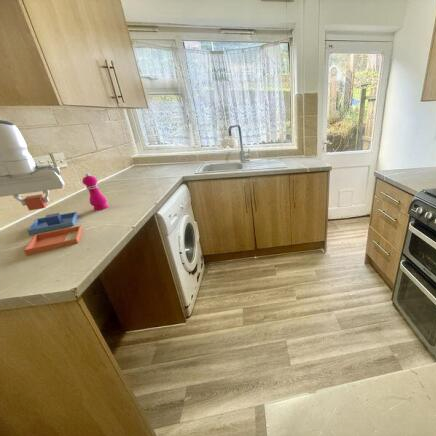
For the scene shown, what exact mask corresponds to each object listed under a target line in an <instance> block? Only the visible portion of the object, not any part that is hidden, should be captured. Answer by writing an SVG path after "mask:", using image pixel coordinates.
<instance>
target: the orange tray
mask: <svg viewBox="0 0 436 436" xmlns="http://www.w3.org/2000/svg"><path fill="white" fill-rule="evenodd" d="M74 232H76V234H75V237H74V238H72V239H67V237H68V235H69V234H70V233H74ZM82 232H83V227H82V225H76V226H70V227H66V228H61V229H57V230H52V231H48V232H43V233H39V234H34V235H33V237H32V238H31V240H30V241H29V242H28V243H27V245H26V246H25V248H24V249H23V252H24V254H25V256H26V257H28V256H32V255H36V254H39V253H44V252H48V251H52V250H56V249H60V248H65V247H67V246H68V247H69V246H71V245H75V244H78V243H79V241H80V239H81V236H82ZM66 239H67V240H66Z"/></svg>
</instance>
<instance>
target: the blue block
mask: <svg viewBox="0 0 436 436" xmlns="http://www.w3.org/2000/svg"><path fill="white" fill-rule="evenodd" d="M60 215H61V214H60V212H56V213H49V214H46V215H45V220H46V222H47V224H48V226H51V225H56V224H62V222H63V220H62V218H61V216H60Z"/></svg>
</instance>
